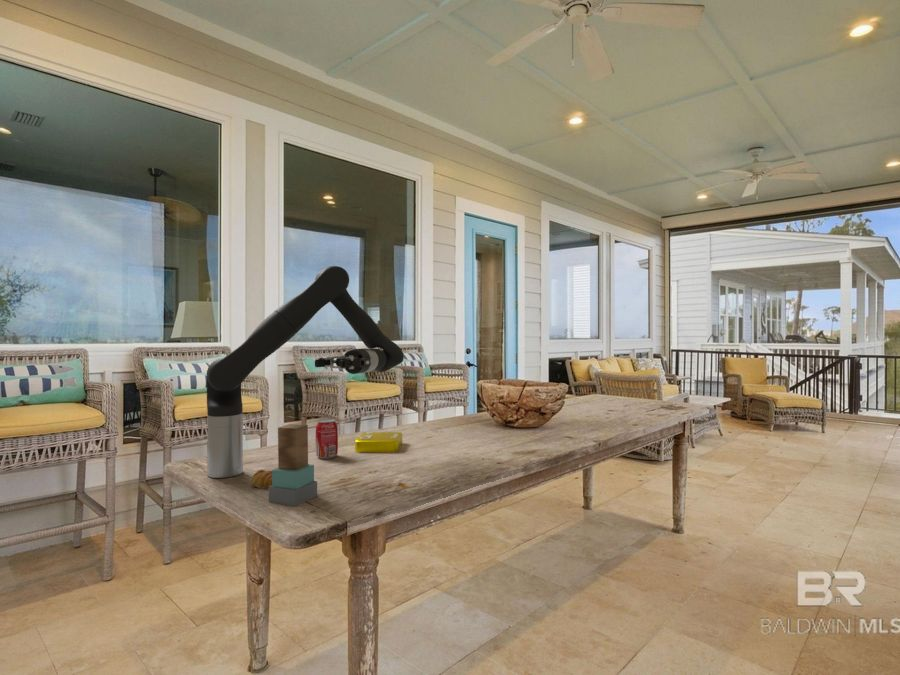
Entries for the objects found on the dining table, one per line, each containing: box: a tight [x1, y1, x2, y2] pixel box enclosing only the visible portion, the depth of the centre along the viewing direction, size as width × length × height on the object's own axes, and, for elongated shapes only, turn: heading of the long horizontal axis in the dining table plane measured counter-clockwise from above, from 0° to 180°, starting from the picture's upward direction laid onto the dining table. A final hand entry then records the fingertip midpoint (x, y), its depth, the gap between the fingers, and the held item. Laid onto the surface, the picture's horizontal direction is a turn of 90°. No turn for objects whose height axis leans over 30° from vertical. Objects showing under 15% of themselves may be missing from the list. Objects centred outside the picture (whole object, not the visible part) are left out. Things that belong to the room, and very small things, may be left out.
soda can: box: [315, 418, 339, 460], centre depth 160 cm, size 7×7×12 cm
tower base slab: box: [268, 480, 318, 507], centre depth 119 cm, size 8×8×4 cm
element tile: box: [354, 431, 403, 453], centre depth 174 cm, size 15×15×5 cm
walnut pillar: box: [277, 423, 309, 470], centre depth 120 cm, size 5×5×10 cm
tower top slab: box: [271, 463, 315, 489], centre depth 120 cm, size 7×7×4 cm
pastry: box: [250, 469, 272, 490], centre depth 130 cm, size 9×7×4 cm
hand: (328, 363), depth 135 cm, fingers open, 8 cm apart
